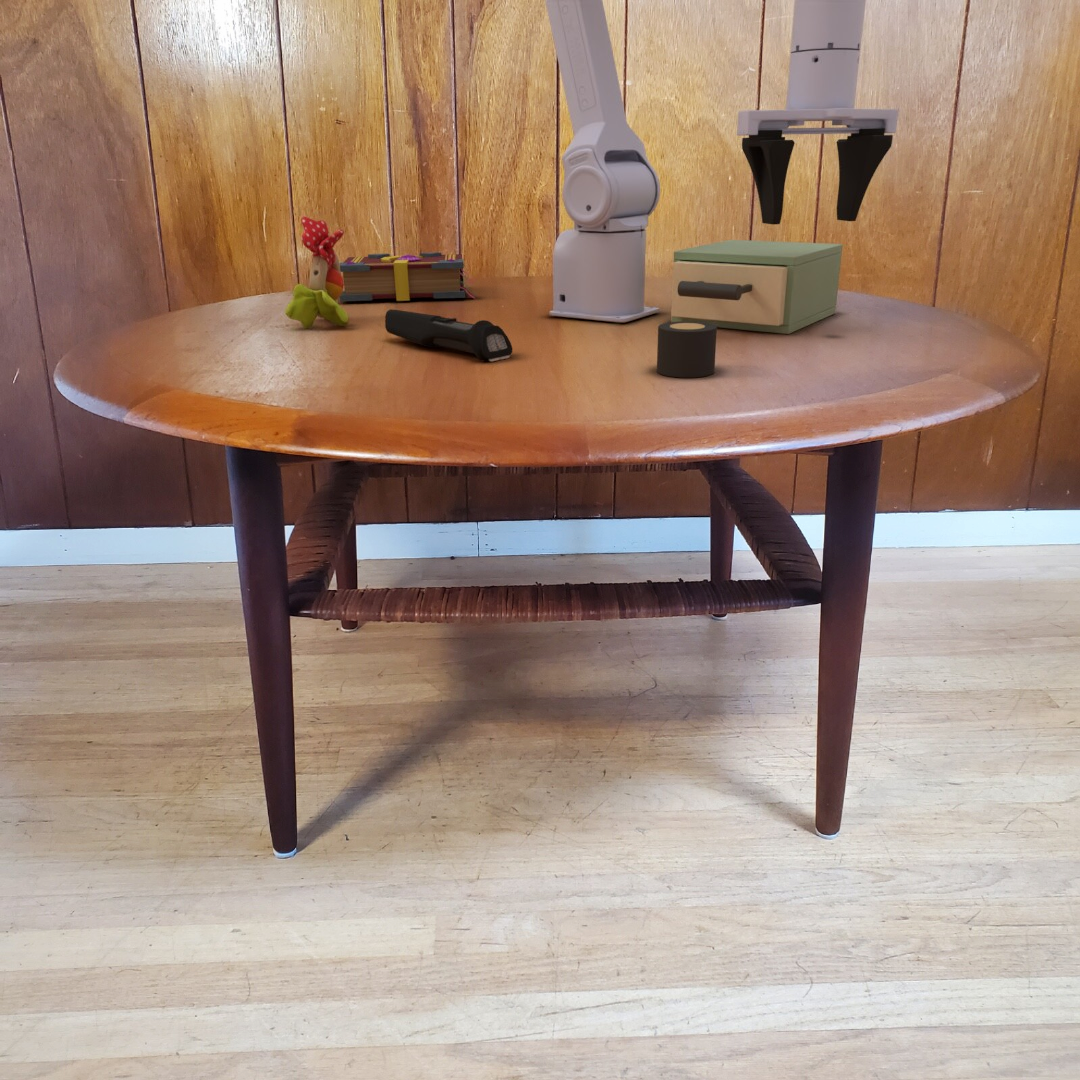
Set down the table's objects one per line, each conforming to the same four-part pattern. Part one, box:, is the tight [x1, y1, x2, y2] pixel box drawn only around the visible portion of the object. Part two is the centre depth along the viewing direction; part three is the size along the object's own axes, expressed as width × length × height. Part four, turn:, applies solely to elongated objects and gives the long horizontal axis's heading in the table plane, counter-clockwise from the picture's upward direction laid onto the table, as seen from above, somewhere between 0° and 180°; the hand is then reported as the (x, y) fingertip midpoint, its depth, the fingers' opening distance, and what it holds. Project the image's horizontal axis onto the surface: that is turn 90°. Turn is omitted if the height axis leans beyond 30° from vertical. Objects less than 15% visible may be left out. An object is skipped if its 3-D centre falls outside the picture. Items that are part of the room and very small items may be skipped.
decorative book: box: [339, 251, 476, 303], centre depth 115 cm, size 11×16×5 cm
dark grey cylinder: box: [656, 321, 718, 379], centre depth 73 cm, size 5×5×4 cm
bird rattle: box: [284, 216, 349, 329], centre depth 96 cm, size 6×11×9 cm
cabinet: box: [670, 239, 844, 335], centre depth 95 cm, size 14×13×7 cm
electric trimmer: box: [384, 308, 513, 362], centre depth 84 cm, size 4×16×3 cm, turn 45°
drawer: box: [670, 261, 788, 326], centre depth 92 cm, size 17×11×5 cm
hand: (809, 222), depth 83 cm, fingers open, 7 cm apart
